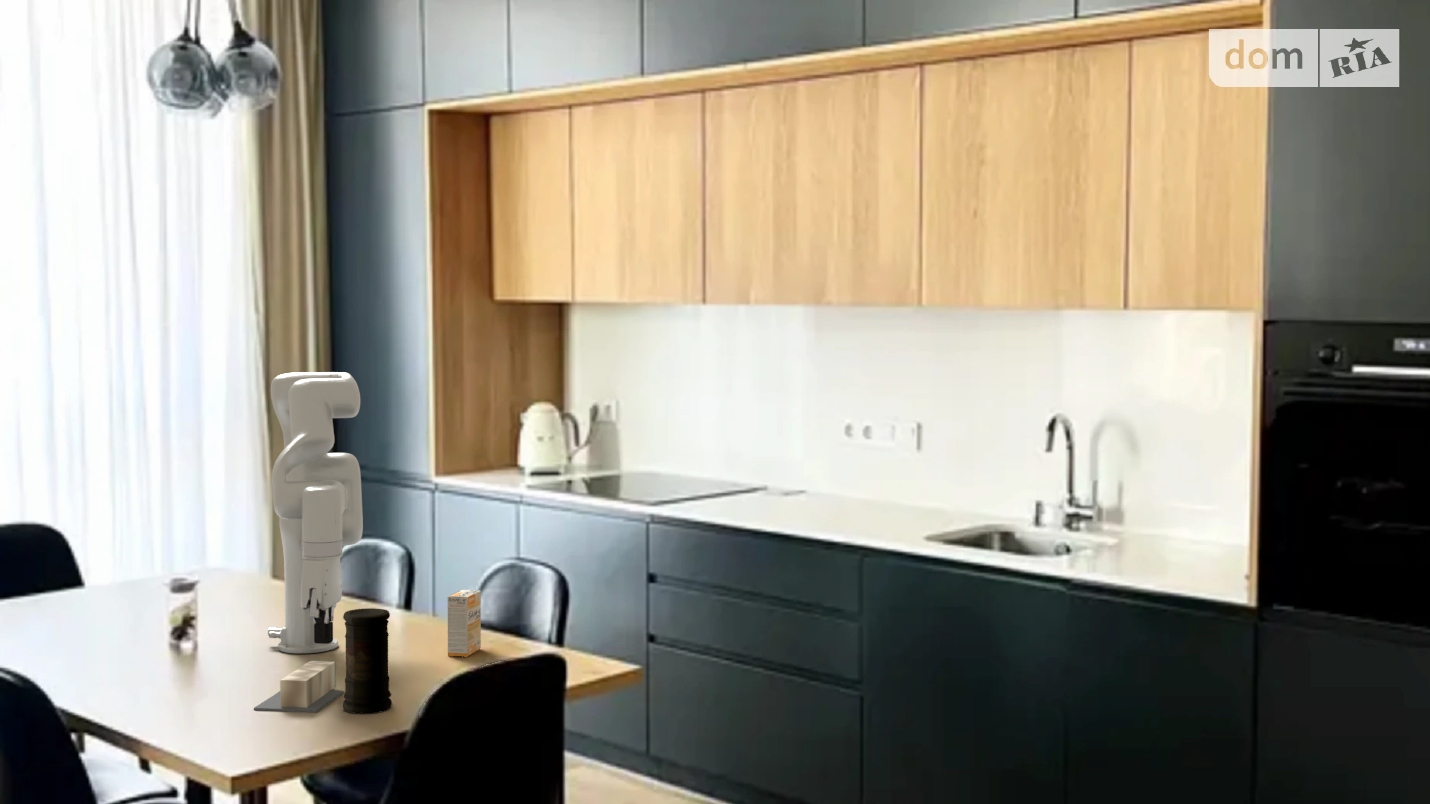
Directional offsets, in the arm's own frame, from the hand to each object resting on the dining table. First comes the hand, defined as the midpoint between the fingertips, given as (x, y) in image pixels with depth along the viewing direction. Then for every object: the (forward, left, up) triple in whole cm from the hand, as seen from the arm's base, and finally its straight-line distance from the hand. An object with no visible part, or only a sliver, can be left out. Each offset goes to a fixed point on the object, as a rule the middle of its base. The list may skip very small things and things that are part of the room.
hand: (323, 642), depth 289 cm
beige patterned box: (0, 0, -6) cm, 6 cm away
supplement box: (+19, +32, -9) cm, 38 cm away
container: (+13, -13, -9) cm, 21 cm away
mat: (-1, -10, -9) cm, 13 cm away
